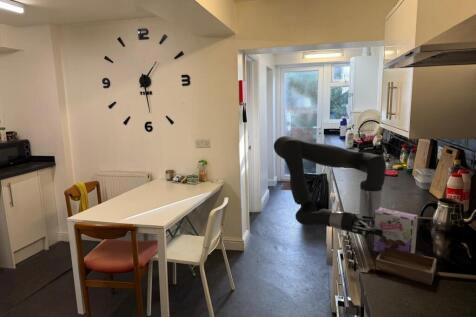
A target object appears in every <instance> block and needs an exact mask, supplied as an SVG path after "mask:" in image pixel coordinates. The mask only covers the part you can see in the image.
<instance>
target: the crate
mask: <svg viewBox="0 0 476 317" xmlns="http://www.w3.org/2000/svg"><path fill="white" fill-rule="evenodd" d="M376 268H377V269H380V270H382V271H383V273H386V274H390V275H394V276H396V277H400V278H404V279H409V280H412V281H415V282H419V283H423V284H426V285H430V286H432V284H433V281H434V278H435V274H434V273H436V270H437V258H436V257H433V256H432V257H431V256H427V255H422V254H418V253H415V254H414V253H410V252H405V251H401V250H397V249H392V248H388V247H383V249H382V250H381V252H380V253H379V254H378V255H377V257H376V259H375V269H376ZM382 271H381V272H382Z"/></svg>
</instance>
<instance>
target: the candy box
mask: <svg viewBox="0 0 476 317" xmlns="http://www.w3.org/2000/svg"><path fill="white" fill-rule="evenodd" d="M418 218H419V215H418V214H413V213H407V212H404V211H398V210H393V209H388V208H384V207H382V206H381V207H380V208H378V209H377V210H375V211H374V229H379V230H383V235H382V236H378V235H373V234H372V249H371V250H372V251H374V252H377V253H379V254H380V252H381V250H382V249H383V247H388V248H392V249H397V250H401V251H405V252H410V253H414V254H416V245H417V244H416V242H417V231H418V230H417V229H418Z"/></svg>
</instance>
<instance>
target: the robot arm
mask: <svg viewBox="0 0 476 317" xmlns="http://www.w3.org/2000/svg"><path fill="white" fill-rule="evenodd" d="M273 150H274V152H275V154H276V155H277V156H278V157H280V158H281V159H283V160H284V162H285V164H286V166H287V168H288V171H289V185H290V186H289V187H290V191H291V195H292V198H293V202H295V204H296V205H300V207H299V209H298V210H297V211H296V213H295V220H296V221H297V222H298V223H299V224H301V225H303V226H325V227H328V228H332V229H336V230H338V231H339V230H340V231H344V232H348V233H349V232H350V233H352V234H356V235H360V236H365V237H369V236H371V235H372V236H373V235H378V236H382V235H383V230H379V229H374V211H375V210H377V209H378V208H380V207H382V201H383V200H382V197H383V186H384V183H385V180H386V169H387V165H386V164H387V162H386V160H385V157H384V156H382V155H381V154H375V153H371V152H360V151H359V152H358V151H351V150H348V149H346V148H344V147H341V146H336V145H331V144H325V143H319V142H318V143H316V142H307V141H303V140H300V139H296V138H294V137H291V136H287V135H283V136H281V137H278V138H277V139H276V140H275V141H274V143H273ZM303 160H306V161H308V162H311V163H313V164H317V165H320V166H323V167H328V168H329V167H331V168H337V169H339V168H341V169H342V168H351V169H353V170H357V171H360V172H362V173H366V178H365V180H362V181H360V184H359V185H360V187H359V210H358V212H359V216H357V214H356V213H354V212H353V213H352V212H348V211H343V210H332V209H328V208H321V209H319V210H318V211H317V206H316V203H315V202H314V200H313V199H312V197H311V195H310V191H309V188H308V184H307V179H306V176H305V168H304V161H303Z"/></svg>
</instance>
